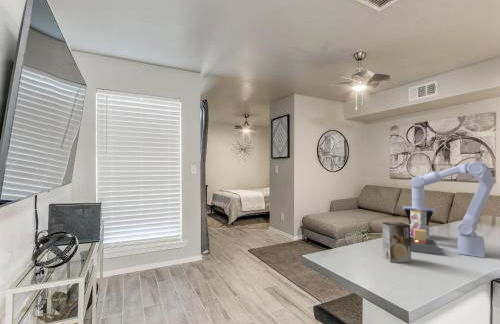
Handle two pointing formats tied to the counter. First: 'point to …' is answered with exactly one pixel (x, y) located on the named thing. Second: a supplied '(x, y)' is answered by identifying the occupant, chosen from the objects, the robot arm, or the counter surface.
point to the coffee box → (396, 242)
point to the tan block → (420, 234)
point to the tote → (425, 247)
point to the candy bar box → (418, 222)
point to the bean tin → (419, 241)
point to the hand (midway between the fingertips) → (418, 224)
